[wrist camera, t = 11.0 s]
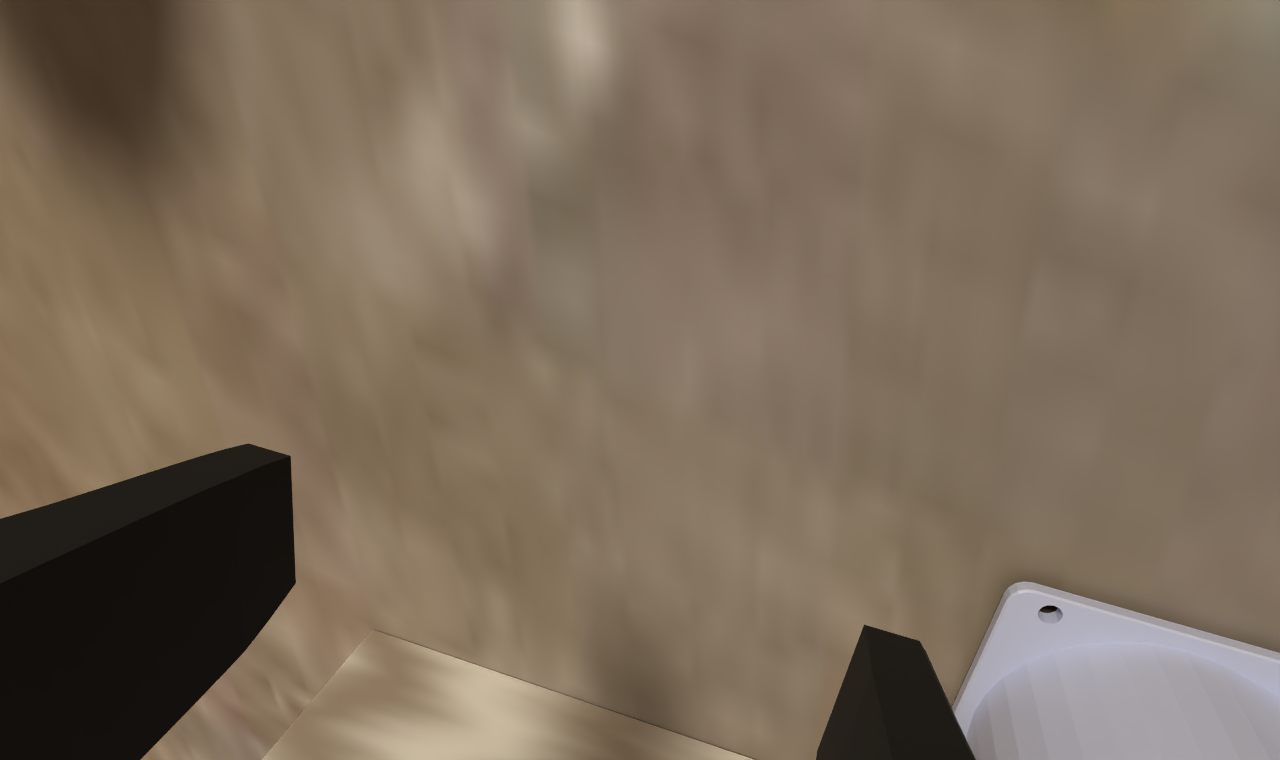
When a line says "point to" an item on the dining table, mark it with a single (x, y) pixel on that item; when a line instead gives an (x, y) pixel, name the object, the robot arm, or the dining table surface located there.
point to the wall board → (462, 716)
